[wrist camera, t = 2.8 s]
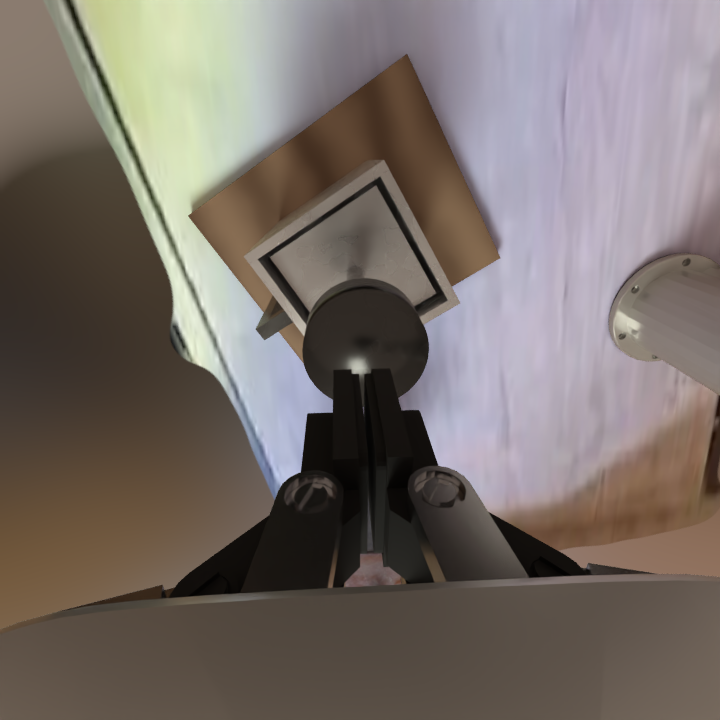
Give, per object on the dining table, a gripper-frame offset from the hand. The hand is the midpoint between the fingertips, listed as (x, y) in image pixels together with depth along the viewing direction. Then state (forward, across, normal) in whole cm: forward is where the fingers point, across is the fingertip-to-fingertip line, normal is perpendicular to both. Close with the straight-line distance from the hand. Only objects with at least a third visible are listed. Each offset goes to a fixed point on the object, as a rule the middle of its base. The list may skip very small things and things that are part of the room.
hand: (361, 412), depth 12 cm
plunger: (+17, -1, 0) cm, 17 cm away
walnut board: (+32, -1, 0) cm, 32 cm away
